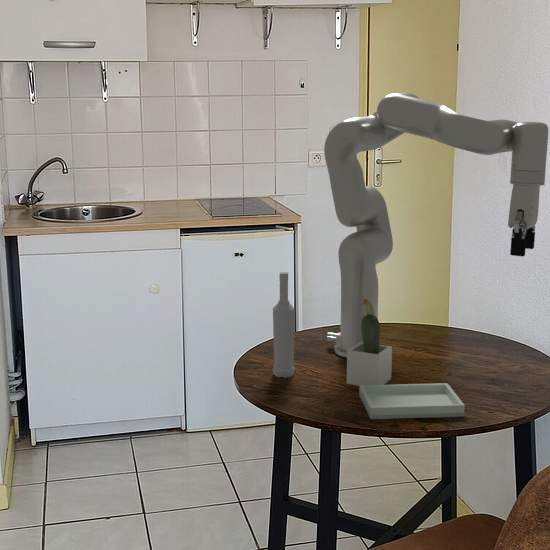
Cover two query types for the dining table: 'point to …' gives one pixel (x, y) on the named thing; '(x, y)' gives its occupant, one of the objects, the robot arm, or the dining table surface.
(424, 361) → the dining table surface
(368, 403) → the tray
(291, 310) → the bottle
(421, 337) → the dining table surface
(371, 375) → the grey square open box
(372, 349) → the vegetable
